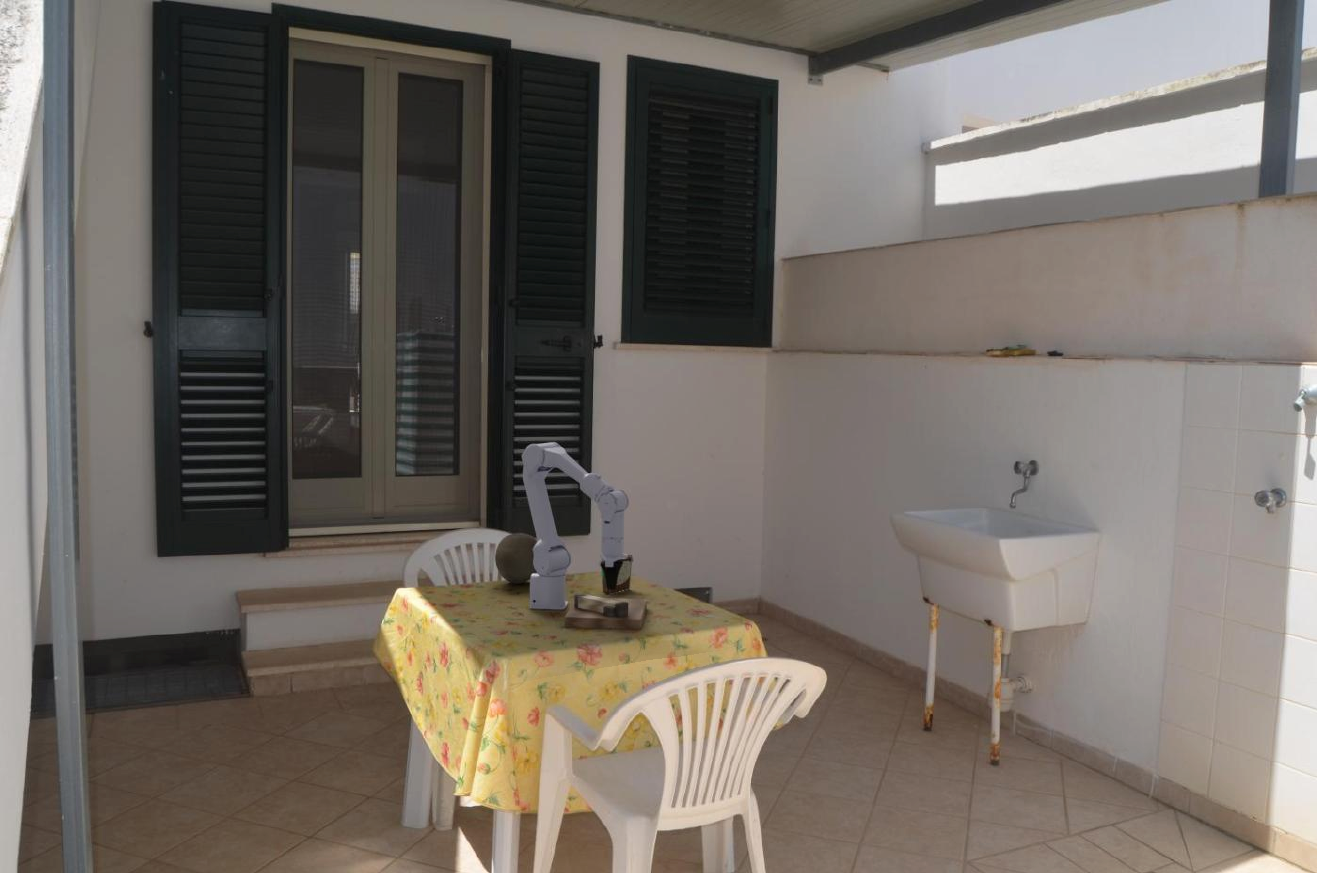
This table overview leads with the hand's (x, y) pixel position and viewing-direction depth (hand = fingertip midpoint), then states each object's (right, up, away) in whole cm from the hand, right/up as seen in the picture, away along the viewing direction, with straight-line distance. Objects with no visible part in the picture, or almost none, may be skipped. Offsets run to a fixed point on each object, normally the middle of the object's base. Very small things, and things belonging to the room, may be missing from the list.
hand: (611, 589), depth 276 cm
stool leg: (-3, -5, -4) cm, 7 cm away
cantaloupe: (-29, -4, +37) cm, 47 cm away
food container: (-1, -5, +31) cm, 31 cm away
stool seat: (-1, -7, 0) cm, 7 cm away
